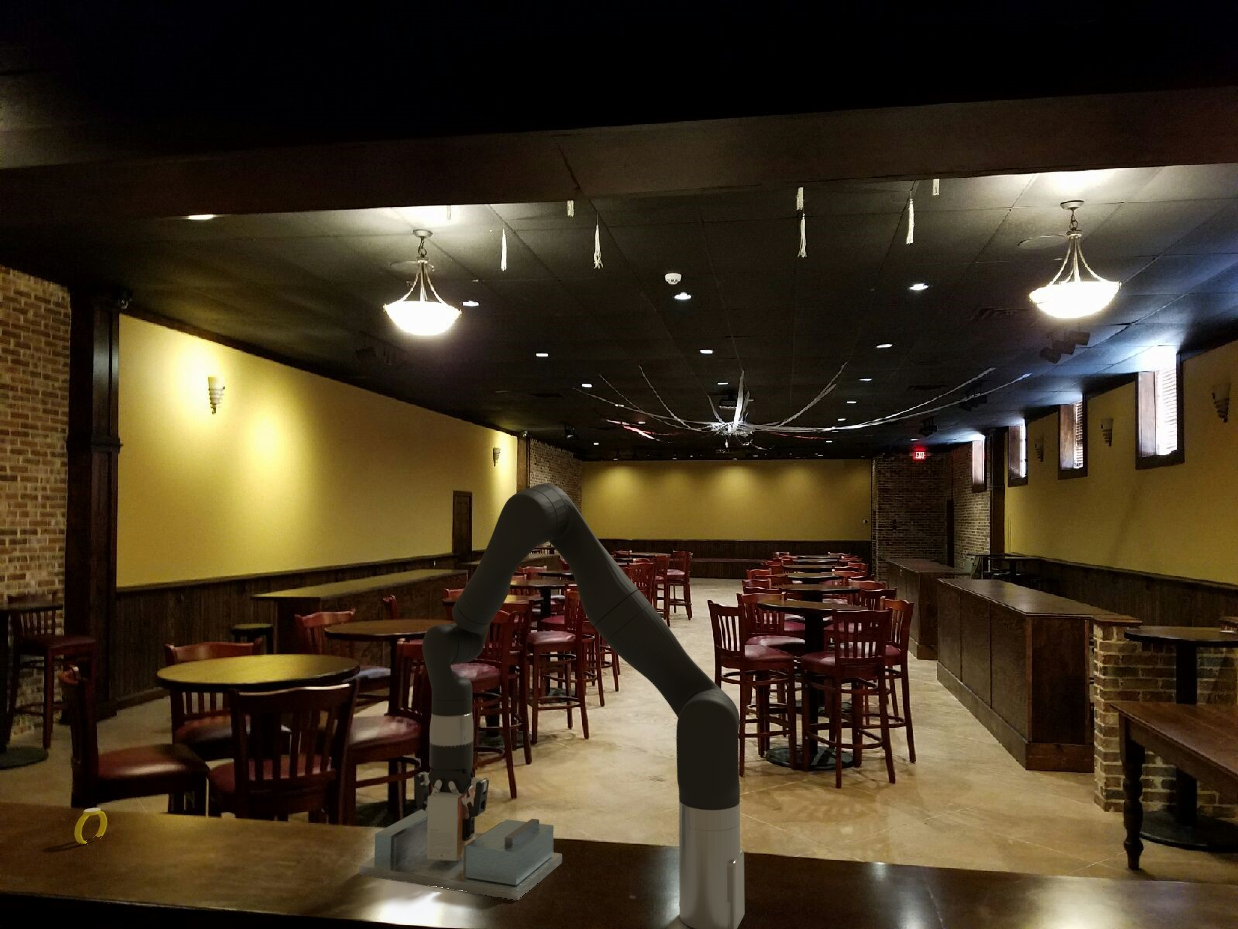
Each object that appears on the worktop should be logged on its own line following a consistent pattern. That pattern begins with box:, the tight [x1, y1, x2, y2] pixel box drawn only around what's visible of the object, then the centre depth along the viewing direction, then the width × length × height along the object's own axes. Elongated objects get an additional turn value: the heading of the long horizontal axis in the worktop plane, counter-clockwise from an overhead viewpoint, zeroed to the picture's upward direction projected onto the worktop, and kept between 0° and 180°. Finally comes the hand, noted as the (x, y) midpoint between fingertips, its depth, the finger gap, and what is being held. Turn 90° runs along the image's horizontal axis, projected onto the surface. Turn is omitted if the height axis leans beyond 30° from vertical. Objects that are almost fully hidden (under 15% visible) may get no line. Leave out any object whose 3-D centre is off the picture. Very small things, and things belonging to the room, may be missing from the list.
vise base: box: [358, 809, 563, 901], centre depth 151 cm, size 30×17×6 cm, turn 69°
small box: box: [427, 785, 475, 861], centre depth 153 cm, size 8×6×10 cm
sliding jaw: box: [463, 818, 554, 885], centre depth 148 cm, size 10×14×6 cm
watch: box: [74, 807, 108, 845], centre depth 164 cm, size 6×3×6 cm, turn 164°
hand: (450, 837), depth 152 cm, fingers closed on small box, 6 cm apart
